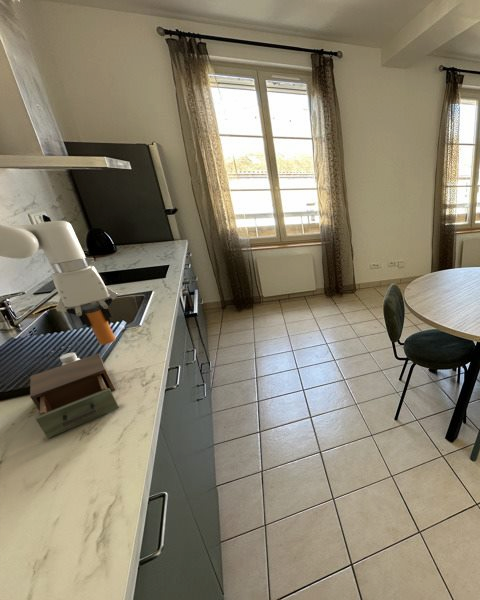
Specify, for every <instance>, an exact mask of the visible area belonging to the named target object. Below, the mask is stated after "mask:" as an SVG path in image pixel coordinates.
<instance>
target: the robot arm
mask: <svg viewBox="0 0 480 600" xmlns="http://www.w3.org/2000/svg"><path fill="white" fill-rule="evenodd" d="M39 250H42V251H43V253H44V255H45V257H46V259H47V261H48V263H49V264H50V267H51V268H52V270H53V273H52V274H51V278H52V282H53V284H54V287H55V290H56V291H57V294H58V296H59V300H58V302H57V305H56V307H55V310H56V311H57V312H62V313H68V314H71V315H74V316H77V317H78V318H79V320H80V322H81V324H82V325H83V326H86V327H87V328H91V326H90V324H89V322H88V320H87V318H86V316H85V314H84V313H83V311H82V308H81V306H84V305H88V304H91V303H94V302H98V304H100V306H101V308H102V311H103V313H104V315H105V317H106V320H107V322H111V319H110V318H112V314H111V312H110V310H109V307H110V305H111V304H112V302H113V301H114V300H115V299H116V298H117V297H118V296H119V294H118V293H117V292H116V291H114V290H113V289H111V288H109V287H107V285H105V283H104V280H103V278H102V277H101V275H100V273H99V272H98V270H97V268H96V267H95V266H94V265H91V264H92V263H96V262H95V261H96V260H95V259H94V257H87V256H86V255H85V252H84V250H83V248H82V246H81V243H80V242H79V240H78V237H77V234H76V232H75V230H74V228H73V226H72V224H71V223H70V222H68V221H66V220H51V221H43V222H39V223H35V224H15V225H14V224H13V225H6V224H3V223H0V257H3V258H9V259H19V260H20V259H26V258H30V257H32V256H33V255H35V254H36V253H38V251H39Z"/></svg>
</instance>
